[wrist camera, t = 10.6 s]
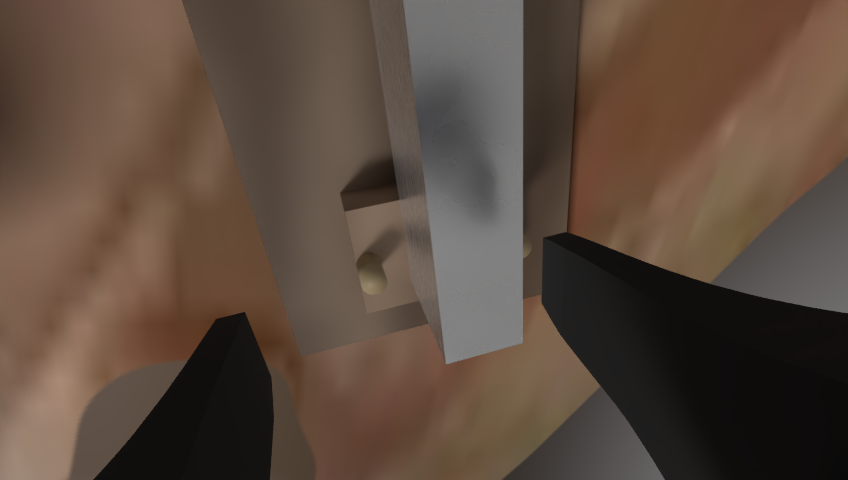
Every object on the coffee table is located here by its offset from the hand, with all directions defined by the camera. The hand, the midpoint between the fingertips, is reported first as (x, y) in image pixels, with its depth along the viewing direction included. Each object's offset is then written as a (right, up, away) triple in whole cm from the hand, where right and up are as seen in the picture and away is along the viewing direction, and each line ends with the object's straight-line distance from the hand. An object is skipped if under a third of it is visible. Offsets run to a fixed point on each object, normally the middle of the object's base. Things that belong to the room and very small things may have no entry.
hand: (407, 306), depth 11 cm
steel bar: (0, +7, +5) cm, 8 cm away
